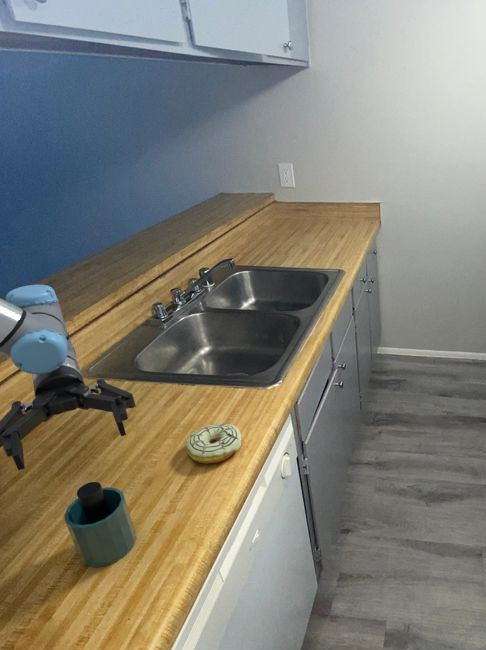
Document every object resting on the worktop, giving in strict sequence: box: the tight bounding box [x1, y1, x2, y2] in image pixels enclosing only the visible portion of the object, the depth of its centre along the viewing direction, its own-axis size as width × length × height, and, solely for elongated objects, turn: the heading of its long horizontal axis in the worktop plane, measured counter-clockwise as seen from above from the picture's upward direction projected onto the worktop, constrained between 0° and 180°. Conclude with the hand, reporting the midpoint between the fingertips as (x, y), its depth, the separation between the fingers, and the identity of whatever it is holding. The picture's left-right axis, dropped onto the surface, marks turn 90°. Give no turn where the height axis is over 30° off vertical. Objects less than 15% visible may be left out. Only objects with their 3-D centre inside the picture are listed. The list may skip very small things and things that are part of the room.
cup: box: [63, 486, 137, 568], centre depth 76 cm, size 8×8×9 cm
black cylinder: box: [76, 481, 111, 524], centre depth 75 cm, size 3×3×12 cm
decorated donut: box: [185, 423, 243, 465], centre depth 98 cm, size 10×11×4 cm
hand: (72, 445), depth 74 cm, fingers open, 13 cm apart
